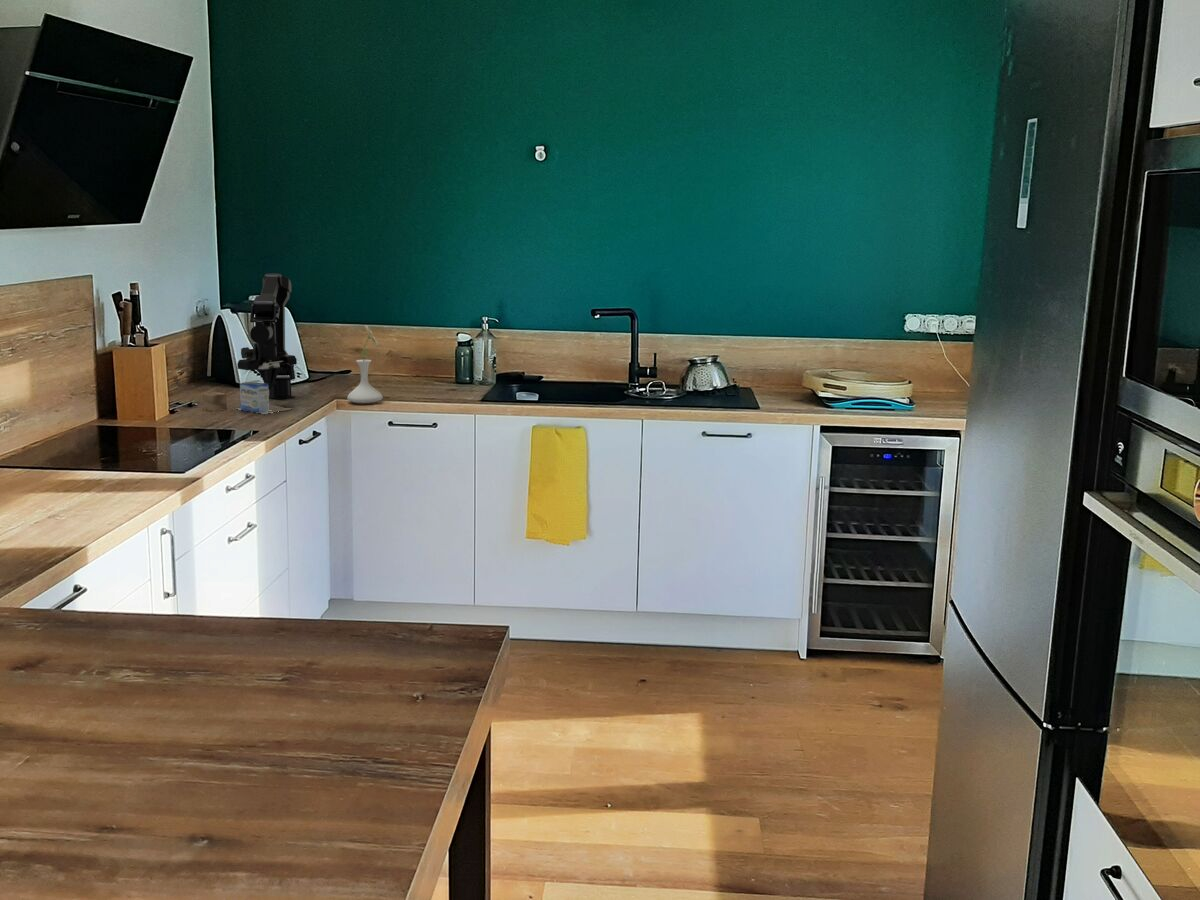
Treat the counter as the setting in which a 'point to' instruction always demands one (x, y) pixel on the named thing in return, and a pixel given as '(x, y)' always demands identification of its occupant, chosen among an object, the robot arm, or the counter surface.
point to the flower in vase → (365, 379)
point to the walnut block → (214, 401)
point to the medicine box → (254, 396)
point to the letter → (260, 412)
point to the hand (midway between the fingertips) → (268, 389)
